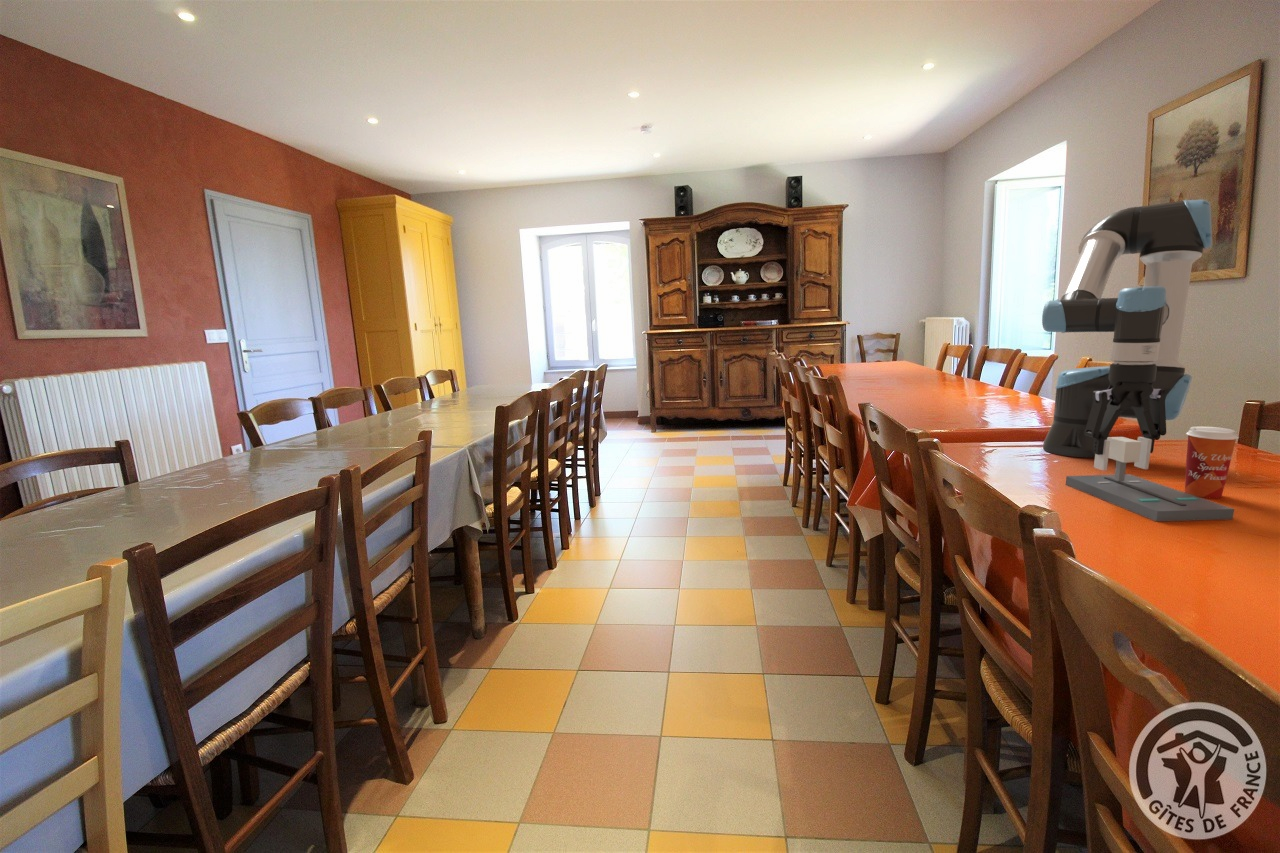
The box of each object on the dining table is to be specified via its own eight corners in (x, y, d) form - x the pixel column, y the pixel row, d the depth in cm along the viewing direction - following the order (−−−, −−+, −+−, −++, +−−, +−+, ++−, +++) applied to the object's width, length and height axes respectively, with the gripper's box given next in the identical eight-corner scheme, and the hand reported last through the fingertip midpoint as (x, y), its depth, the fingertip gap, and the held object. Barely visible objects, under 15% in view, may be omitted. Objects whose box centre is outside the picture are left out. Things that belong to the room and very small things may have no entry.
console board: (1065, 484, 131) (1066, 475, 131) (1128, 482, 131) (1129, 473, 130) (1156, 521, 108) (1157, 510, 107) (1232, 519, 107) (1234, 507, 107)
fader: (1102, 477, 127) (1107, 437, 125) (1117, 476, 127) (1122, 436, 125) (1120, 483, 122) (1125, 442, 120) (1136, 483, 122) (1141, 441, 120)
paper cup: (1185, 497, 120) (1194, 431, 117) (1172, 487, 126) (1181, 425, 124) (1236, 502, 116) (1247, 434, 113) (1220, 491, 123) (1231, 426, 120)
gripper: (1096, 366, 116) (1084, 474, 121) (1201, 362, 116) (1185, 471, 120) (1069, 363, 124) (1059, 465, 128) (1168, 359, 123) (1154, 462, 127)
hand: (1120, 468), depth 124 cm, fingers open, 8 cm apart
